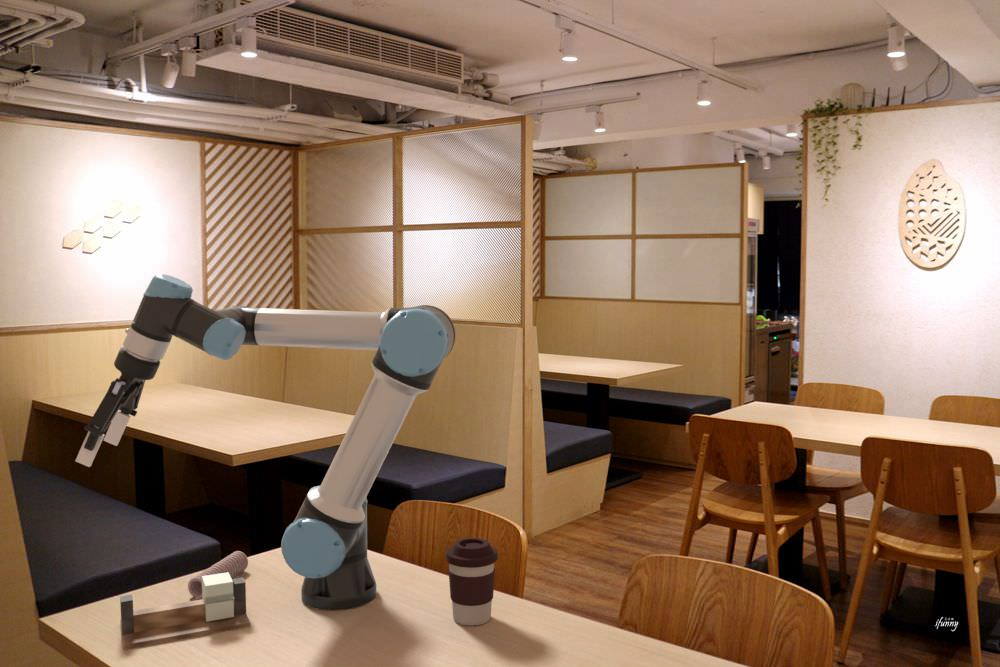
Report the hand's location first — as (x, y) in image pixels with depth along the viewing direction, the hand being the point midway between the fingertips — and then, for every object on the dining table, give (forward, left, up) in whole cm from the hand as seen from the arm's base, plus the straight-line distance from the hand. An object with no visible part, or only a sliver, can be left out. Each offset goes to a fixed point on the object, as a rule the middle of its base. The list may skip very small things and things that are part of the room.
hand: (97, 453), depth 164 cm
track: (-14, +11, -32) cm, 37 cm away
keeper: (-20, +11, -31) cm, 38 cm away
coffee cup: (-64, +32, -32) cm, 78 cm away
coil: (-23, -8, -33) cm, 41 cm away
